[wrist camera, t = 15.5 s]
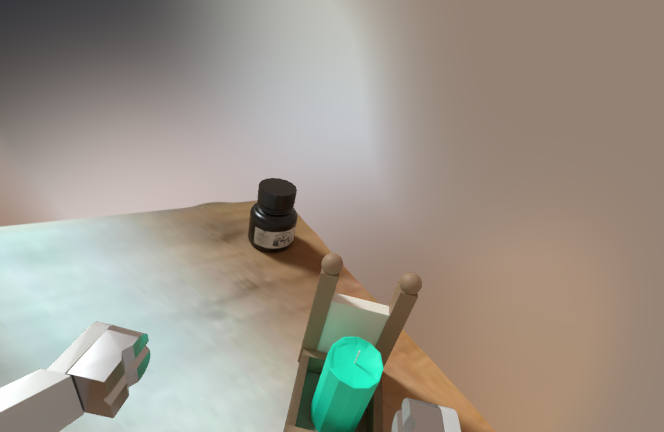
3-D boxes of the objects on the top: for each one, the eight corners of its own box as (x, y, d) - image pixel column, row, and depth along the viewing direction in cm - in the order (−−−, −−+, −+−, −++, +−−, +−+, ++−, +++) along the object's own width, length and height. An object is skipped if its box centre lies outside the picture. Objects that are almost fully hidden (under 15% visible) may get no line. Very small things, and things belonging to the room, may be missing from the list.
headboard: (296, 362, 44) (322, 259, 34) (299, 347, 46) (325, 246, 36) (378, 382, 44) (426, 285, 34) (378, 366, 46) (423, 271, 37)
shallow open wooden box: (279, 448, 35) (283, 434, 33) (299, 361, 44) (303, 347, 42) (374, 471, 35) (382, 458, 33) (375, 380, 44) (381, 367, 42)
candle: (346, 383, 43) (371, 322, 36) (367, 431, 38) (399, 370, 32) (303, 395, 40) (322, 332, 34) (320, 448, 36) (345, 386, 29)
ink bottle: (254, 257, 59) (261, 201, 53) (239, 230, 65) (244, 176, 59) (301, 248, 65) (312, 196, 58) (284, 224, 71) (292, 174, 64)
